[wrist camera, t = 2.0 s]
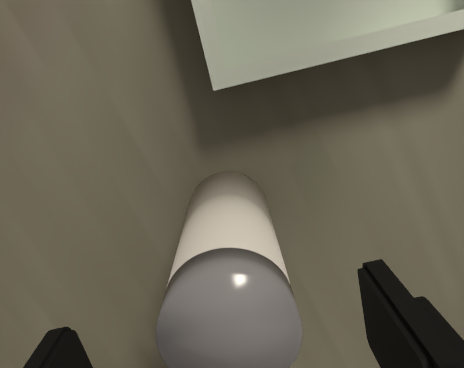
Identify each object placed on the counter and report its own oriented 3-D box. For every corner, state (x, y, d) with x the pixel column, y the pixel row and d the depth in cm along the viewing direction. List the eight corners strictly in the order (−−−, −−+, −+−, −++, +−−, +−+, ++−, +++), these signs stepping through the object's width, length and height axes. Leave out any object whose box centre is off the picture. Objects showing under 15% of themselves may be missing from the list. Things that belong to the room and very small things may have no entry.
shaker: (257, 164, 20) (287, 259, 10) (273, 234, 22) (313, 378, 12) (180, 181, 20) (136, 292, 10) (201, 249, 22) (179, 404, 12)
